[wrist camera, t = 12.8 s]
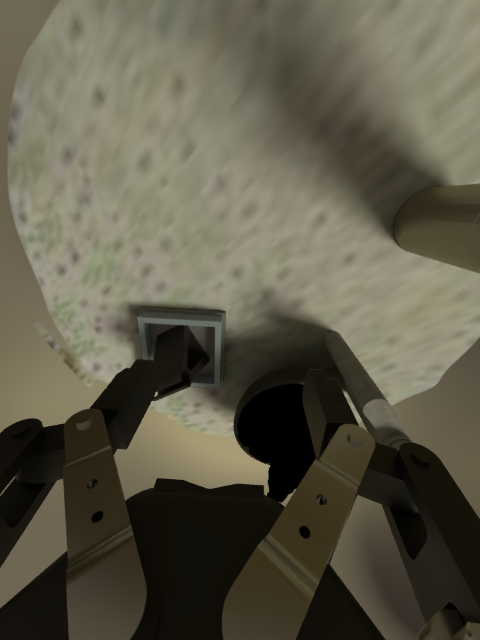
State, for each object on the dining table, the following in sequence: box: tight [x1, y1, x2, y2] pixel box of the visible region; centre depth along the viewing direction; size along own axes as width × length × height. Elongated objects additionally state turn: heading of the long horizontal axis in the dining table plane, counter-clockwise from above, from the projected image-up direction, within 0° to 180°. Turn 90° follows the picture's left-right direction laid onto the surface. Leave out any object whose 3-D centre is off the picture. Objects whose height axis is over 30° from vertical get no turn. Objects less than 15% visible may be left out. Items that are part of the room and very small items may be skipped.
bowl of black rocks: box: [233, 369, 316, 502], centre depth 43 cm, size 20×20×19 cm
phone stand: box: [152, 325, 210, 401], centre depth 42 cm, size 9×6×12 cm, turn 27°
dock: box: [137, 307, 226, 389], centre depth 46 cm, size 15×15×3 cm
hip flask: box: [323, 332, 413, 450], centre depth 40 cm, size 16×4×20 cm, turn 29°
